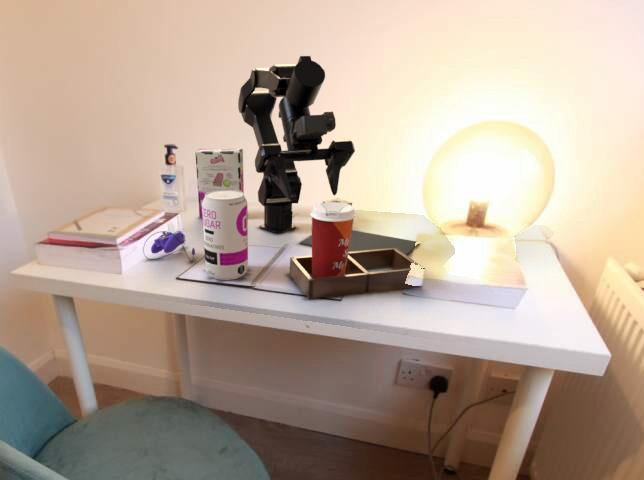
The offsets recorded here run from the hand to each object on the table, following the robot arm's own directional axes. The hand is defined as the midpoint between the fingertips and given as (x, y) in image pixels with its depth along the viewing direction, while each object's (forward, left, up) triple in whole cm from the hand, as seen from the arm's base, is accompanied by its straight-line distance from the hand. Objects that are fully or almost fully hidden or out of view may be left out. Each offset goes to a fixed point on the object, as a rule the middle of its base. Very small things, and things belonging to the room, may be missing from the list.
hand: (312, 195), depth 94 cm
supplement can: (-6, -17, -13) cm, 22 cm away
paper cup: (+10, -6, -13) cm, 18 cm away
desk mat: (0, +15, -13) cm, 20 cm away
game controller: (-20, -20, -13) cm, 31 cm away
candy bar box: (-37, +5, -13) cm, 39 cm away
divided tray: (+13, -1, -13) cm, 18 cm away
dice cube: (-14, +23, -13) cm, 30 cm away
